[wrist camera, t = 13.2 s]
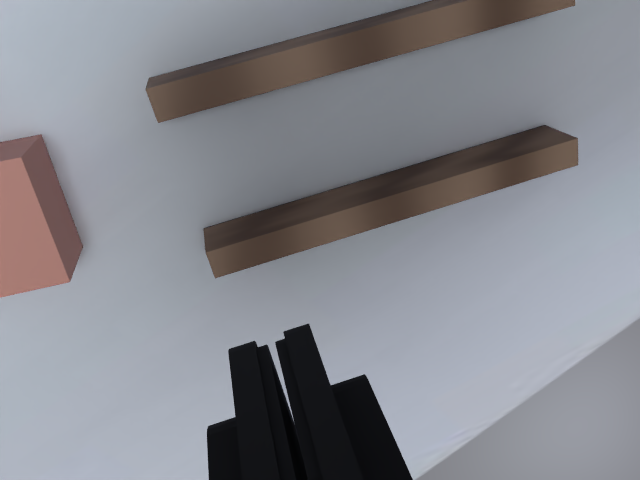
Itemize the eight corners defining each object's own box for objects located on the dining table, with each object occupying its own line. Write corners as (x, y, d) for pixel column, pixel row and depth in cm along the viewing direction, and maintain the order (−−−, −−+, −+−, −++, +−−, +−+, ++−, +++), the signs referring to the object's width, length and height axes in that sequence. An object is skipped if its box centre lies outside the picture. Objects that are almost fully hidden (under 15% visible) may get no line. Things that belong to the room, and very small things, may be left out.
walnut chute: (537, -29, 29) (574, -30, 26) (546, 149, 33) (578, 165, 30) (148, 78, 27) (145, 89, 24) (212, 252, 31) (215, 278, 28)
